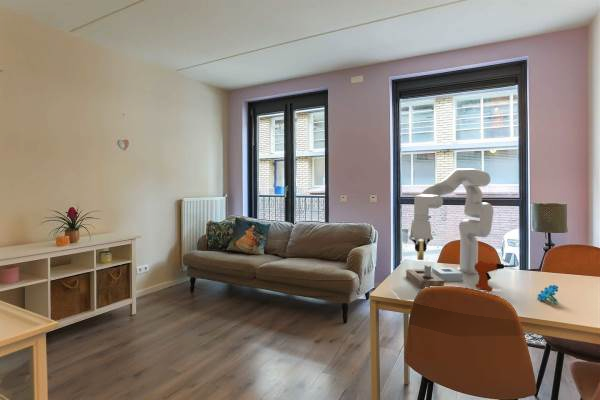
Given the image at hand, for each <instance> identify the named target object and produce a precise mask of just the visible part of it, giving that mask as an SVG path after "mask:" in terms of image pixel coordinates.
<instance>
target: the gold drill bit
mask: <svg viewBox="0 0 600 400" xmlns="http://www.w3.org/2000/svg"><path fill="white" fill-rule="evenodd" d="M418 244H419V251H418V252H417V256H416V257H417V260H419V261H423V260H424V258H425V257H424V256H425V255H424V254H425V252H424V241H423V240H418Z"/></svg>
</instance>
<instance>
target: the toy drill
mask: <svg viewBox="0 0 600 400" xmlns="http://www.w3.org/2000/svg"><path fill="white" fill-rule="evenodd" d="M474 268H475V270H476V271H477V272H478V283H476V284H475V288H476V289H477V290H479V291H483V292H484V291H485V290H486V291H487V292H492V291H493V287H492V286H490V285H489V280H491V279H492V277H491V276H490V273H489V272H494V271H497V270H501V269H502V270H504V269H505V268H516V265H515V264H509V265H508V264H507V265H506V264H505V265H504V264H503V263H497V262H492V261H489V262H488V261H483V260H479V261H478V263H476V264H475V266H474ZM486 291H485V292H486Z"/></svg>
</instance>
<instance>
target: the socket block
mask: <svg viewBox="0 0 600 400" xmlns="http://www.w3.org/2000/svg"><path fill="white" fill-rule="evenodd" d="M431 272H432V273H433V274H435V275H436V276H438V277H439V278H441V279H442V280H444V282H445V281H447V282H449V281H450V282H451V281H452V282H453V281H454V282H455V281H456V282H457V281H458V282H459V281H463V280H464V279H463V276H464V274H463V273H464V272H463V271H459V270H458V269H457V268H454V267H453V266H451V267H431Z"/></svg>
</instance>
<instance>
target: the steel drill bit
mask: <svg viewBox="0 0 600 400" xmlns="http://www.w3.org/2000/svg"><path fill="white" fill-rule="evenodd" d="M431 272H432V265H429V264H427V265H424V279H431Z"/></svg>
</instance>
